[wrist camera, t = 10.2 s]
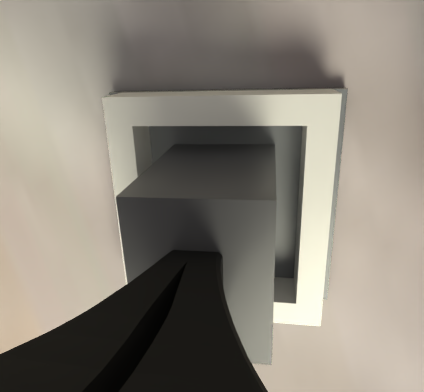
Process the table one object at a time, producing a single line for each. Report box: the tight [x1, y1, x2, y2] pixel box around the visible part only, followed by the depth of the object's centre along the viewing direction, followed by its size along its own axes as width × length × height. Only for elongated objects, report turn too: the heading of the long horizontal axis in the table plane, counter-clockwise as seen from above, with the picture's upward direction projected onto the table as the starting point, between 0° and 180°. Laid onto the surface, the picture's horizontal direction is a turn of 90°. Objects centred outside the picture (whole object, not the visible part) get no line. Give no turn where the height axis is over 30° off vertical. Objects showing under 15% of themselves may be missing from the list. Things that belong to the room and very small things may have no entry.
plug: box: [116, 144, 277, 365], centre depth 13 cm, size 4×7×6 cm, turn 2°
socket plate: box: [102, 88, 348, 326], centre depth 15 cm, size 9×9×2 cm
